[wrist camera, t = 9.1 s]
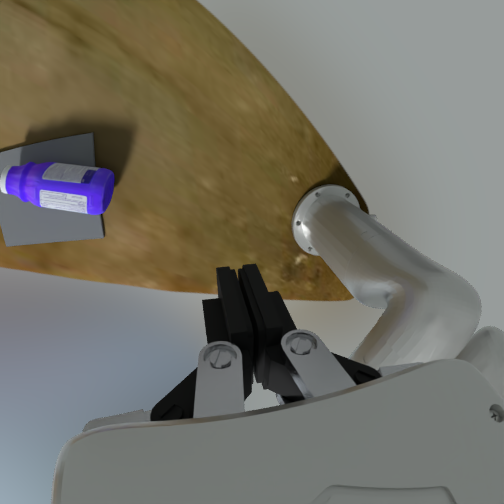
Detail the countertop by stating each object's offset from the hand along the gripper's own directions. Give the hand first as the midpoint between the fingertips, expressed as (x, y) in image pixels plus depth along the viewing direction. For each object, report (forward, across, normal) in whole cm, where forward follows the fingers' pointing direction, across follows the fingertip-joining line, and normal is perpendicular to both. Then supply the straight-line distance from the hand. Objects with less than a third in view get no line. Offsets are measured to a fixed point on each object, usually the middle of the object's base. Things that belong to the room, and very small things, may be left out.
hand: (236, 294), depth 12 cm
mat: (+31, +26, +1) cm, 40 cm away
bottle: (+27, +12, +2) cm, 30 cm away
